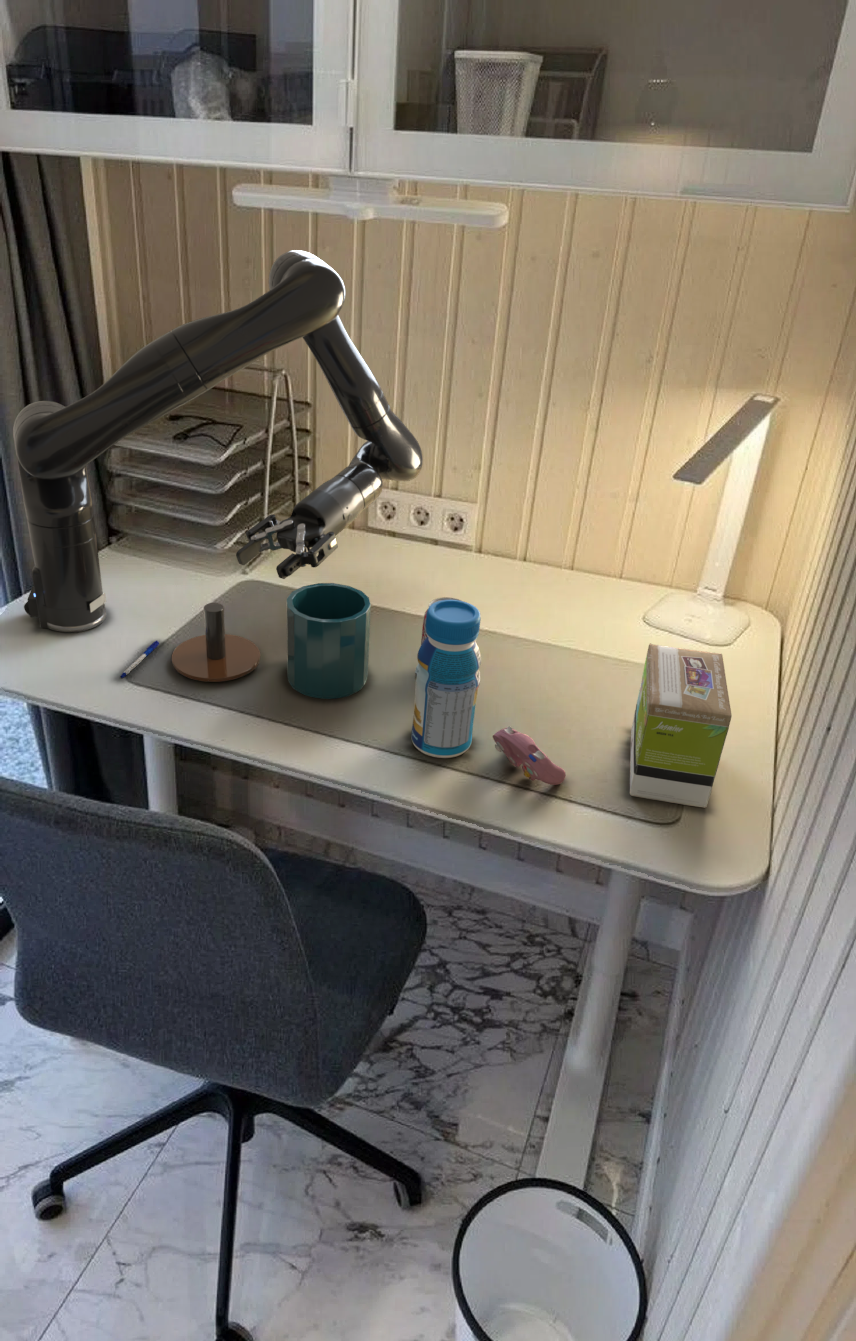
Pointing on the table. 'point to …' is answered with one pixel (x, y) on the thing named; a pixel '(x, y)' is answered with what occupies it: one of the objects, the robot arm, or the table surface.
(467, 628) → the beverage bottle
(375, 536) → the table surface
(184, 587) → the table surface
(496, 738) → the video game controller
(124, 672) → the ballpoint pen
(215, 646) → the jug lid
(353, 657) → the teal cup
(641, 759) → the tea box
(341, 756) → the table surface
